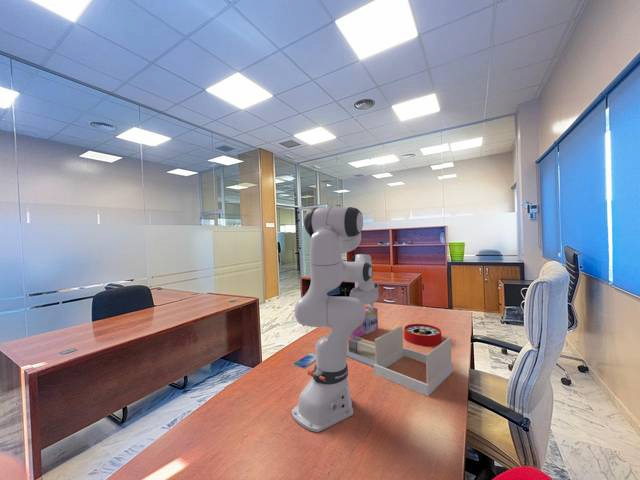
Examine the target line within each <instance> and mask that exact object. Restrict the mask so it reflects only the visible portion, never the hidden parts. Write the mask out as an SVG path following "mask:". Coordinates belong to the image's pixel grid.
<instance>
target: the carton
mask: <svg viewBox="0 0 640 480" xmlns="http://www.w3.org/2000/svg"><path fill="white" fill-rule="evenodd" d="M403 328H404V327H403V325H400V326H399V327H395V328H394V329H393V330H390V331H388V332H385V333H384V334H382V335H380V336H379V337H377V338H374V343H375V364H374V367H373V374H374V375H376V376H379V377H381V378H384V379H386V380H388V381H390V382H393V383H395V384H397V385H399V386H403V387H405V388H407V389H410V390H412V391H414V392H417V393H419V394H421V395H424V396H426V397H429V396H430V395H431V394H432V393H433V392H434V391H436V389H437V388H438V387H439V386H440V384H442V383H443V382H444V381H445V380H446V379H447V378H448V377H450V375H451V374H452V373H453V372H454V363H453V361H452V339H451V338H452V337H448V338H447V339H445V340H444V341H442V342H441V344H439V345H436V347H434V348H433V349H432V350H431V351H429V352H428V353H424V352H421V351H416V350H414V349H411V348H407V347H404V339H403V338H404V337H403V335H404V334H403V332H404V331H403V330H404V329H403ZM403 357H405V358H409V359H411V360H414V361H418V362H420V363H423V364H425V366H426V369H425V370H426V373H425V374H426V377H425V378H426V383H425V382H424V381H421V380H418V379H415V378H413V377H410V376H408V375H405V374H403V373H400V372H398V371H395V370H393V369H392V370H391V369H389V368H388V367H390V366H391V365H393V364H394V363H396V362H397V361H398V360H400V359H402V358H403Z"/></svg>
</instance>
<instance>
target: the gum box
mask: <svg viewBox="0 0 640 480" xmlns="http://www.w3.org/2000/svg"><path fill="white" fill-rule="evenodd" d="M368 307H369V306H367V307H365V311H366V315H365V319H364V322H363V323H362V324H361V325H360V326H359V327H358V328H356V329H355V330H354V331H353V332H352V334H351V335H350V337H349V338H350V339H351V338H354V337H356V336H357V337H360V338H362V336H363V337H364V336H366V335H368V334H370V332H371V333H374V332H376V331H378V330H379V322H378V321H379V317H378V308H376V307H372V311H368Z"/></svg>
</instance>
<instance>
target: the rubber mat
mask: <svg viewBox="0 0 640 480" xmlns="http://www.w3.org/2000/svg"><path fill="white" fill-rule="evenodd" d="M346 358H350V359H352V360H354V361H357V362H359V363H361V364H364V365H367V366H369V367H371V368H374V364H375V360H373V359H371V358H368V357H365V356H363V355H360V354H355V353H352V352H350V351H349V347H347V349H346Z"/></svg>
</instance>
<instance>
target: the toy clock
mask: <svg viewBox="0 0 640 480" xmlns="http://www.w3.org/2000/svg"><path fill="white" fill-rule="evenodd" d="M403 328H404V329H403V330H404V331H403V332H404V334H403V335H404V337H403V338H404V340H405V341H406V342H407V343H410V344H412V345H415V346H421V347H434V346H436V347H437V346H438V345H440V344H441V343H443V341H442V338H443V337H442V330H441V329H440V328H439V327H437V326H434V325H432V324H431V325H430V324H426V323H412V324H411V323H410V324H407V325H405V326H404V327H403Z"/></svg>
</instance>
